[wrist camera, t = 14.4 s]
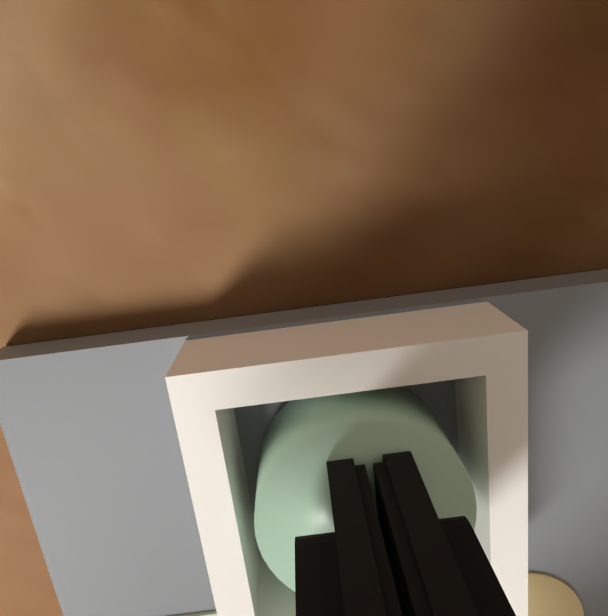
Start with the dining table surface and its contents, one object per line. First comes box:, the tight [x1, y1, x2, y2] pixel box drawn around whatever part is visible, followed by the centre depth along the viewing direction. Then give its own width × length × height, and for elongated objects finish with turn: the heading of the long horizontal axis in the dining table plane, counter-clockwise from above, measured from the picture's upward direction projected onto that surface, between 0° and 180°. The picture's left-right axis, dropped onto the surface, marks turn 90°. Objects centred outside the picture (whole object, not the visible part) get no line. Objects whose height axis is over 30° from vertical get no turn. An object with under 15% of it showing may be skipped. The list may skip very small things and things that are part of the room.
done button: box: [254, 386, 477, 592], centre depth 11 cm, size 4×4×2 cm
